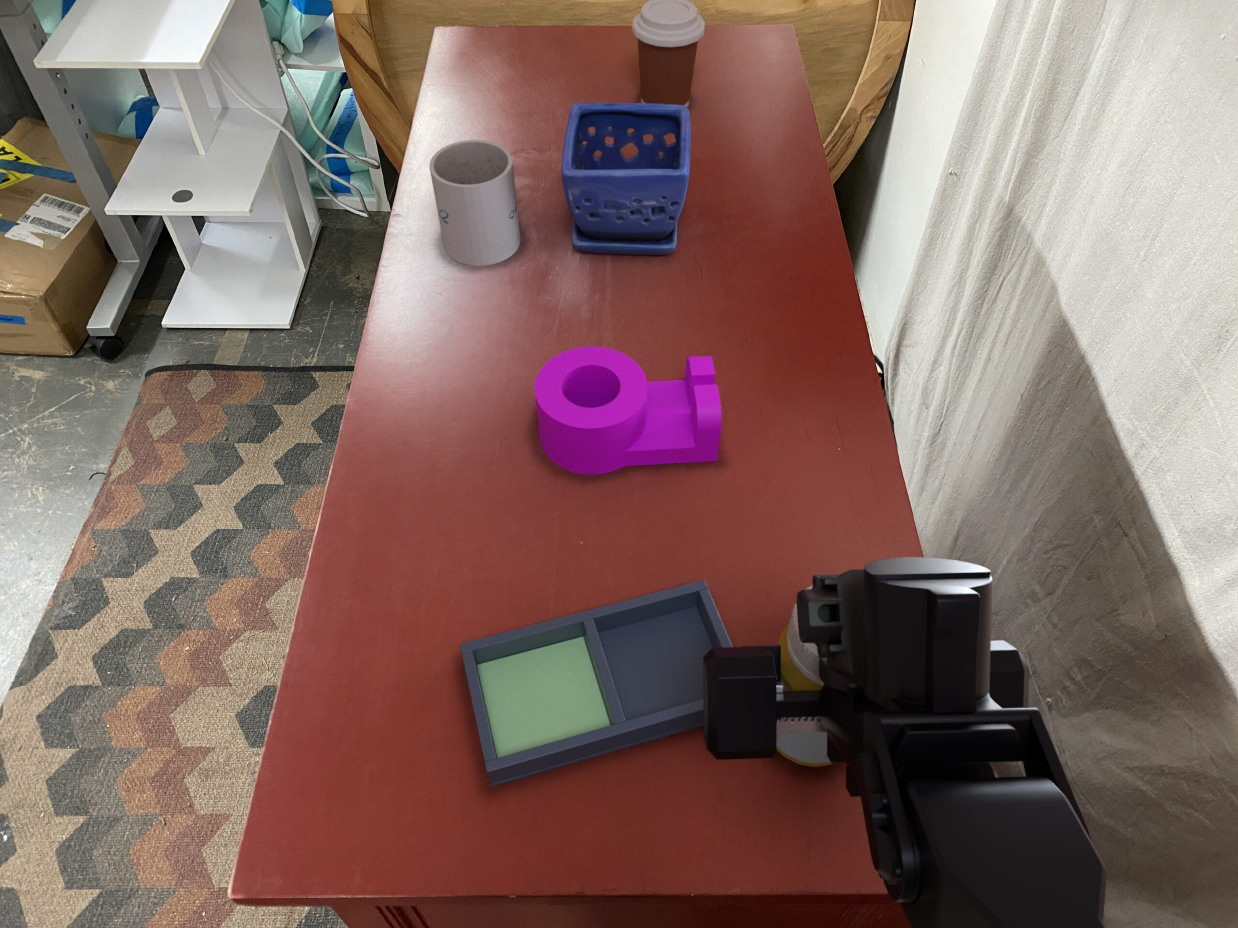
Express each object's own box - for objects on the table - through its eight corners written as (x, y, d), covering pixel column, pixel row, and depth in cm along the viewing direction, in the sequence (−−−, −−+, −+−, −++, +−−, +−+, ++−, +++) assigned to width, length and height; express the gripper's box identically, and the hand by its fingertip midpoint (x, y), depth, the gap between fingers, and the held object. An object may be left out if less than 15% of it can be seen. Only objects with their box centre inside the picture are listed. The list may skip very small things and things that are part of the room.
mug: (514, 267, 100) (505, 189, 92) (436, 264, 100) (421, 185, 93) (529, 201, 108) (522, 123, 100) (457, 197, 108) (445, 119, 100)
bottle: (751, 685, 69) (774, 578, 58) (842, 674, 70) (882, 567, 58) (771, 775, 65) (800, 679, 53) (868, 763, 65) (917, 666, 54)
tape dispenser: (540, 477, 82) (535, 431, 77) (538, 396, 88) (533, 349, 83) (718, 467, 82) (724, 421, 78) (703, 388, 89) (708, 340, 84)
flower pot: (685, 268, 100) (692, 173, 91) (564, 265, 100) (559, 170, 91) (684, 196, 108) (690, 102, 99) (572, 193, 109) (568, 99, 99)
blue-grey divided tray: (748, 712, 68) (753, 695, 66) (491, 787, 64) (486, 772, 62) (701, 598, 74) (704, 579, 72) (464, 661, 70) (459, 643, 68)
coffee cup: (713, 99, 122) (721, 8, 113) (670, 127, 118) (674, 35, 108) (660, 76, 126) (664, -14, 116) (616, 102, 121) (616, 11, 112)
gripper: (1089, 593, 46) (965, 535, 62) (720, 602, 46) (689, 541, 61) (1081, 803, 47) (962, 694, 63) (722, 813, 47) (691, 702, 63)
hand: (827, 654), depth 62 cm, fingers open, 8 cm apart
